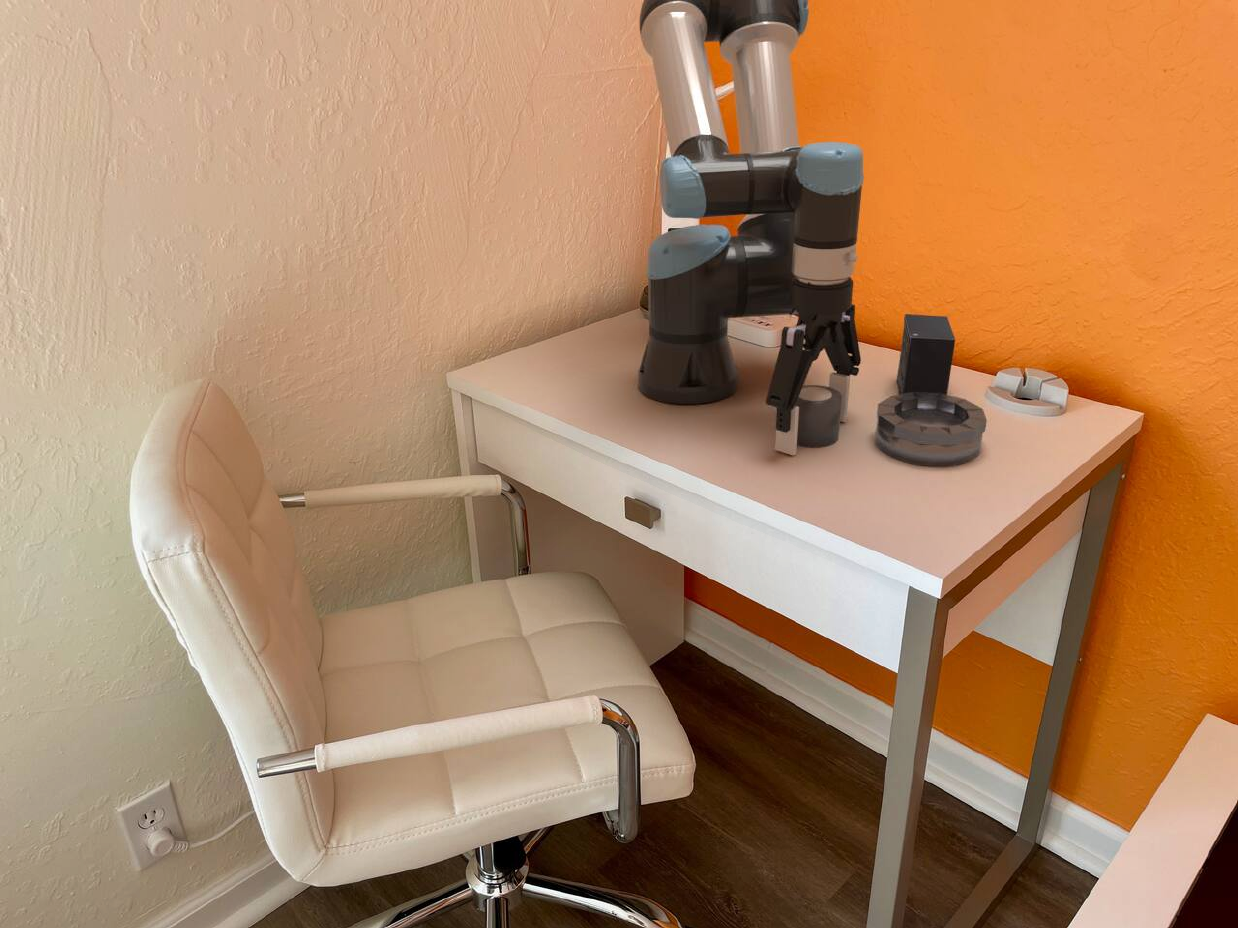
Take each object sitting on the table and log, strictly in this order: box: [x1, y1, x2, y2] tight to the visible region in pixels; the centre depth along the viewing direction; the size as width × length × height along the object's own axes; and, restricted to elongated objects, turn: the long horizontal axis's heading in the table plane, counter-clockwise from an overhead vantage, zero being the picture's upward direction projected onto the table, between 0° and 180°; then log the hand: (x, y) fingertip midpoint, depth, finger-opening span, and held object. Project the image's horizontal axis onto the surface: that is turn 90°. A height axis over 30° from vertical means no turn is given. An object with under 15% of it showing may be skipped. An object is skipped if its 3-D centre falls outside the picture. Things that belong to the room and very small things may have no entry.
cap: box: [795, 384, 842, 449], centre depth 122 cm, size 7×7×6 cm
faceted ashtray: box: [875, 392, 987, 468], centre depth 119 cm, size 13×13×4 cm
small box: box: [896, 313, 956, 395], centre depth 132 cm, size 11×6×10 cm, turn 168°
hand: (811, 435), depth 123 cm, fingers open, 12 cm apart
